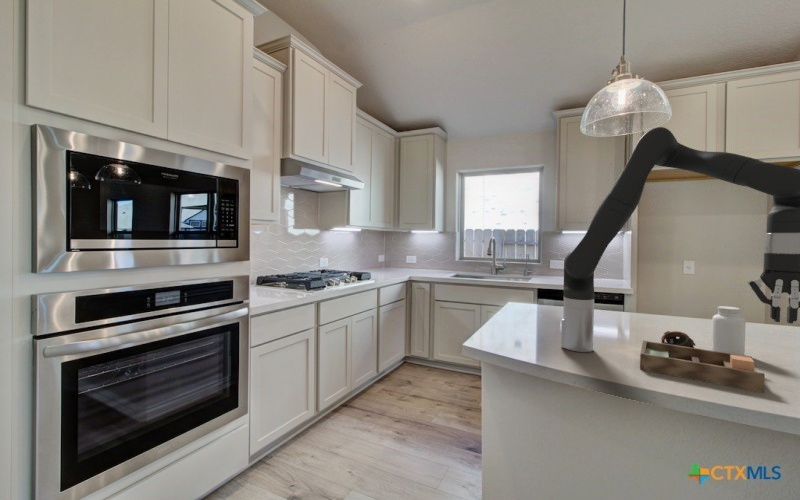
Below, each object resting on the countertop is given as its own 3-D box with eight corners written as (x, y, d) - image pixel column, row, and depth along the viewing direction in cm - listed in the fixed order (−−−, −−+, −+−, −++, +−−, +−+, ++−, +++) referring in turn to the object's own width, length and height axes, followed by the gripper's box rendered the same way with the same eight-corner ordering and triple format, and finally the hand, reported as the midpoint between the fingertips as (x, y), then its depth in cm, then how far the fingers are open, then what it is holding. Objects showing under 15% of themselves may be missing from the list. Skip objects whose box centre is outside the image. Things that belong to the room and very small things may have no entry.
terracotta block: (731, 374, 91) (732, 358, 91) (729, 369, 94) (730, 354, 94) (753, 377, 89) (754, 362, 89) (750, 372, 92) (751, 357, 92)
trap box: (639, 369, 101) (640, 353, 101) (642, 354, 114) (643, 340, 114) (763, 392, 86) (764, 374, 86) (751, 372, 99) (751, 356, 99)
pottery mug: (707, 360, 109) (700, 339, 108) (676, 372, 111) (668, 351, 109) (680, 340, 121) (673, 320, 119) (652, 350, 123) (645, 331, 121)
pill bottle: (704, 349, 119) (706, 305, 118) (726, 349, 119) (728, 305, 119) (728, 357, 111) (730, 310, 110) (751, 357, 111) (753, 309, 111)
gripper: (823, 252, 85) (819, 323, 86) (744, 250, 93) (741, 315, 94) (835, 253, 79) (831, 329, 80) (750, 251, 87) (747, 321, 88)
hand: (783, 321), depth 87 cm, fingers closed
